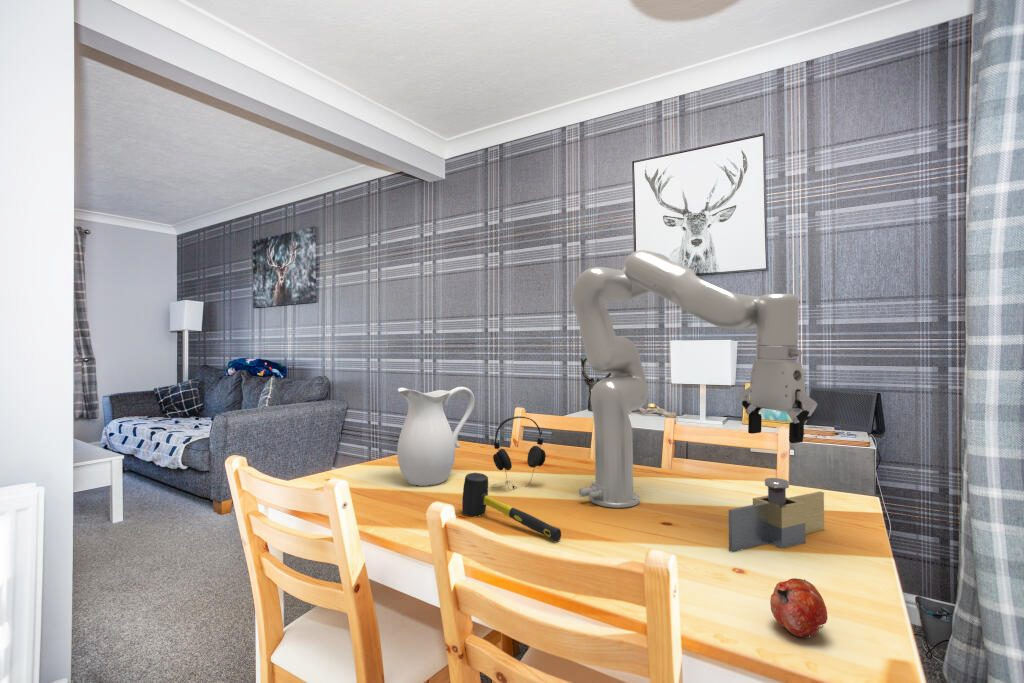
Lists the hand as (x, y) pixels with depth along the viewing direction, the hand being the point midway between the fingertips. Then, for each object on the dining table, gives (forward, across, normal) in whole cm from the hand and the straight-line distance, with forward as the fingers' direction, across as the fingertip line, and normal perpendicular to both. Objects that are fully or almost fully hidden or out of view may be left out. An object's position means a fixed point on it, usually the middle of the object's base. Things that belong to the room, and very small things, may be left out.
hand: (774, 437), depth 106 cm
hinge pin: (+21, -1, 0) cm, 21 cm away
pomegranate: (+21, -25, +26) cm, 41 cm away
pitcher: (+24, +75, +50) cm, 93 cm away
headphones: (+23, +58, +32) cm, 70 cm away
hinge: (+21, -1, 0) cm, 21 cm away
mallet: (+23, +31, +46) cm, 60 cm away
